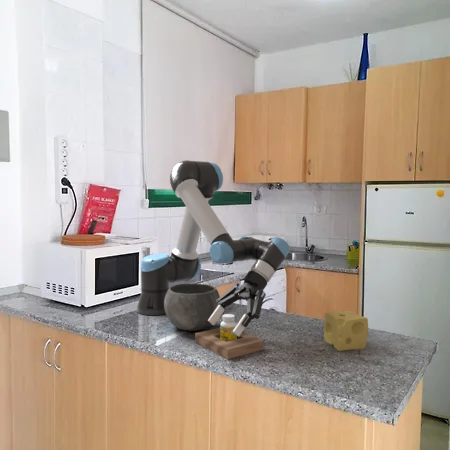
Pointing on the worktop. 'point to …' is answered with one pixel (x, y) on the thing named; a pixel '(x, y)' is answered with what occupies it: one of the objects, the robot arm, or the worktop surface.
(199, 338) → the well board
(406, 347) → the worktop surface
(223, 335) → the supplement bottle
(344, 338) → the cheese
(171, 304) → the bowl
